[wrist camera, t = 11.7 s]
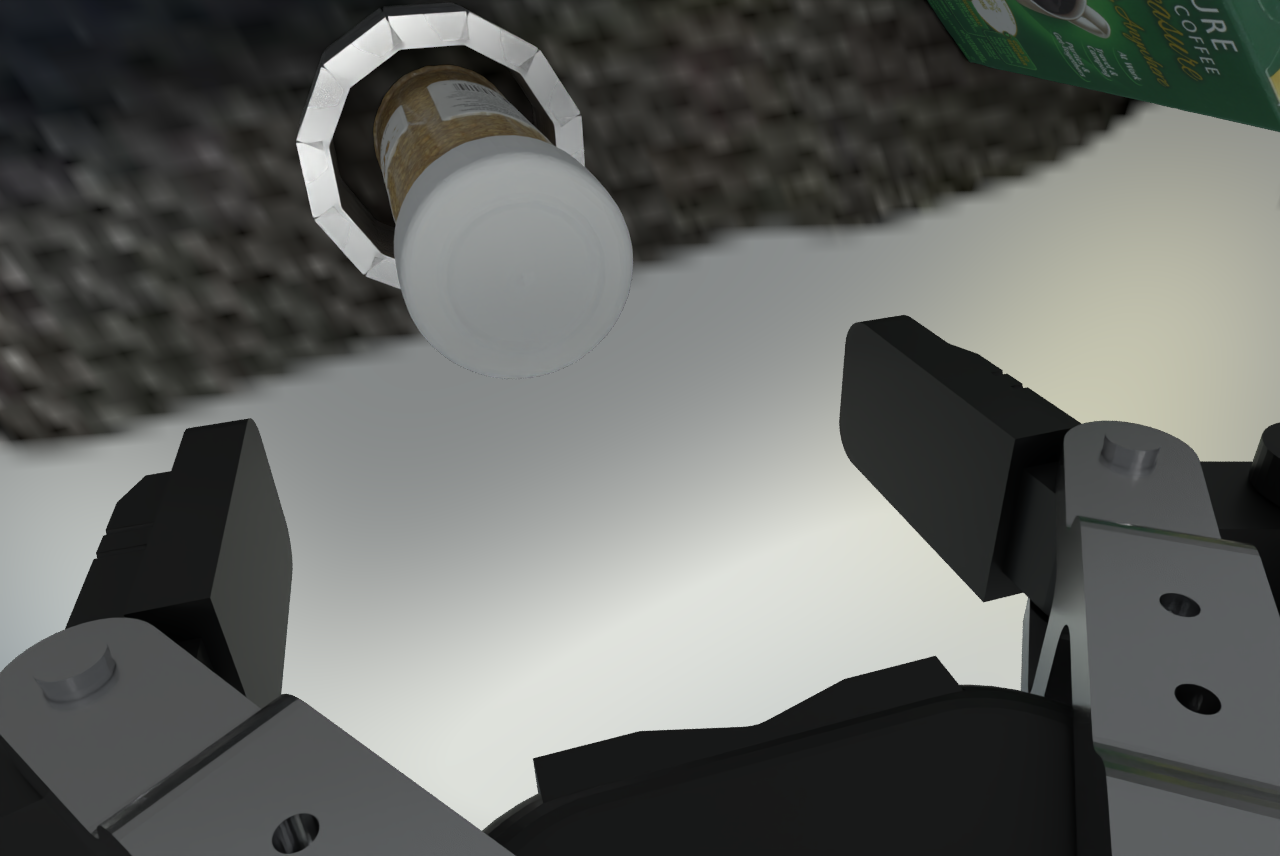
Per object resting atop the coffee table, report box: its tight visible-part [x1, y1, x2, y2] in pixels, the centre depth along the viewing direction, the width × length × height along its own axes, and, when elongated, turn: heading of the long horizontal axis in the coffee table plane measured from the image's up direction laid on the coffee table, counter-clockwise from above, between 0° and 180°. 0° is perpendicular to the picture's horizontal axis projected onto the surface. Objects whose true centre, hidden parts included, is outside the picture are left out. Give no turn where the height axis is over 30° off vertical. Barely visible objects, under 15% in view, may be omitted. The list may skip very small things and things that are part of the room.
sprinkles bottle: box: [373, 65, 633, 379], centre depth 22 cm, size 5×5×14 cm
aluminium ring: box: [296, 2, 585, 289], centre depth 27 cm, size 8×8×4 cm
